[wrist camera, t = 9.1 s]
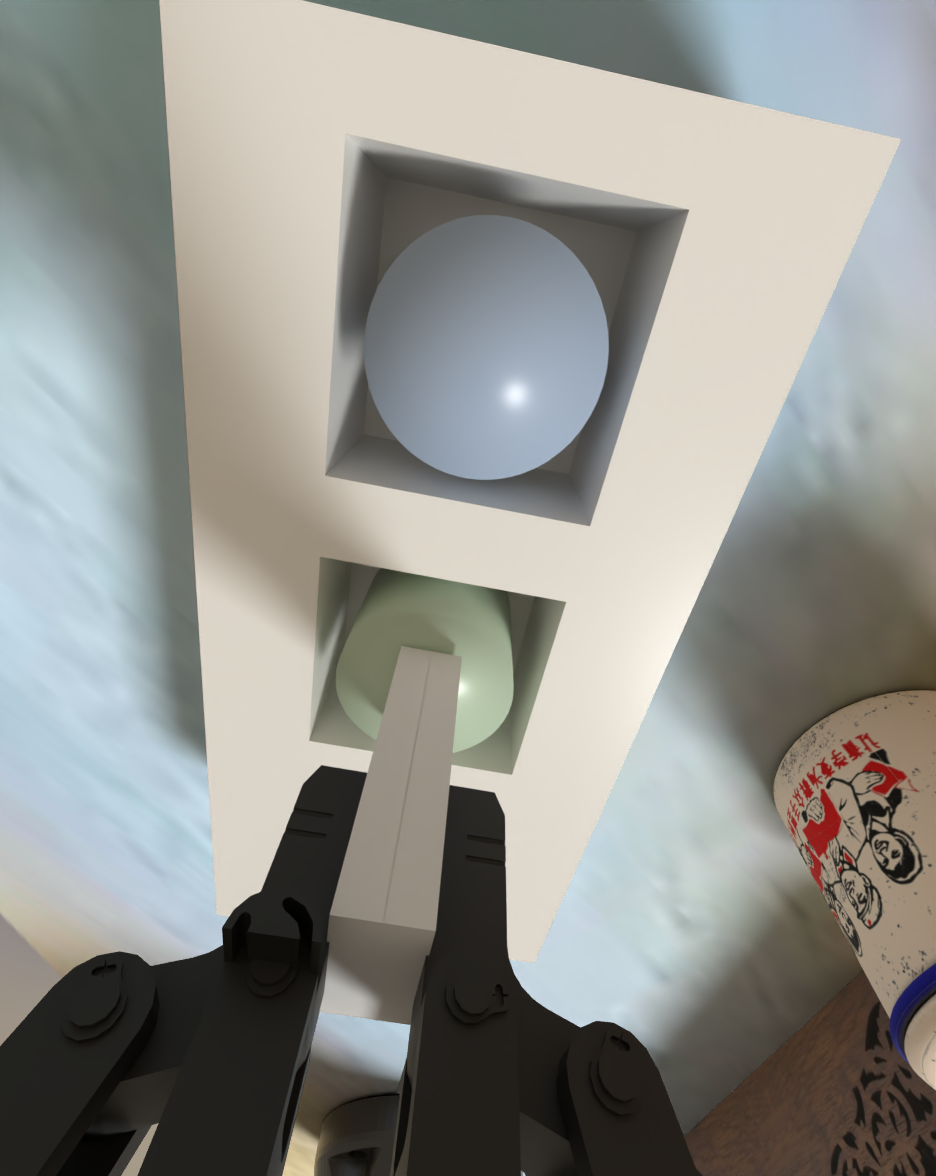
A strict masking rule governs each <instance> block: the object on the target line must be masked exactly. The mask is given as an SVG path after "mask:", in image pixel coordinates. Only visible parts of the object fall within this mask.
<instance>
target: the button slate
mask: <svg viewBox="0 0 936 1176" xmlns="http://www.w3.org/2000/svg"><path fill="white" fill-rule="evenodd" d="M608 354H609V338H608V328H607V321H606V315H605V312H604V308H603V304H602V301H601V298H600V295H599V293H598V291H597V289H596V286H595V284H594V282H593V280H592V278H591V277H590V275H589V273H588V272H587V270H586V268H585V267H584V265H583V264H582V263H581V262H580V260H579V259H578V258H577V257H576V256H575V254H574V253H573V252H572V251H571V250H570V249H569V248H568V247H567V246H565V245H564V244H563V243H562V242H561V241H560V240H559V239H557V238H556V237H554V236H553V235H551V234H550V233H548V232H547V231H546V230H544V229H542V228H540V227H537V226H535V225H533V224H531V223H529V222H526V221H523V220H519V219H516V218H513V217H506V216H499V215H475V216H469V217H464V218H458V219H455V220H453V221H450V222H447V223H444V224H441V225H439V226H437V227H436V228H434V229H432V230H430V231H428V232H426V233H425V234H423V235H422V236H421V237H419V238H418V239H416V240H415V241H414V242H412V243H411V244H410V245H409V246H408V247H407V248H406V249H405V250H404V251H403V252H402V253H401V254H400V255H399V256H398V257H397V258H396V260H395V261H394V262H393V264H392V265H391V266H390V267H389V269H388V270H387V272H386V273H385V275H384V277H383V279H382V280H381V282H380V284H379V285H378V288H377V290H376V293H375V295H374V297H373V300H372V302H371V306H370V309H369V313H368V317H367V321H366V328H365V335H364V361H365V371H366V376H367V380H368V385H369V389H370V392H371V394H372V397H373V400H374V403H375V405H376V407H377V409H378V411H379V413H380V415H381V417H382V419H383V420H384V422H385V424H386V425H387V427H388V428H389V430H390V431H391V432H392V434H393V435H394V436H395V437H396V438H397V440H398V441H399V442H400V443H401V444H402V445H403V446H404V447H405V448H406V449H407V450H408V451H410V452H411V453H412V454H413V455H415V456H416V457H417V458H419V459H420V460H421V461H423V462H425V463H426V464H428V465H430V466H432V467H434V468H435V469H438V470H440V471H443V472H445V473H448V474H450V475H454V476H458V477H462V478H468V479H476V480H494V479H502V478H508V477H512V476H516V475H519V474H522V473H525V472H527V471H530V470H532V469H535V468H537V467H538V466H540V465H542V464H544V463H546V462H547V461H549V460H550V459H552V458H553V457H554V456H556V455H557V454H559V453H560V452H561V451H562V450H563V449H564V448H565V447H566V446H567V445H568V444H570V443H571V442H572V440H573V439H574V438H575V437H576V436H577V434H578V433H579V432H580V431H581V430H582V428H583V427H584V425H585V424H586V422H587V421H588V419H589V417H590V416H591V414H592V412H593V410H594V408H595V406H596V404H597V402H598V399H599V396H600V393H601V391H602V388H603V385H604V380H605V376H606V371H607V364H608Z"/></svg>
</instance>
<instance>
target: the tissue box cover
mask: <svg viewBox="0 0 936 1176" xmlns="http://www.w3.org/2000/svg"><path fill="white" fill-rule="evenodd" d="M889 1022H890V1018H889V1016H888V1014H887V1013H886V1011H885V1009H884V1007H883V1005H882V1003H881V1002H880V1000H879V998H878V996H877V994H876V992H875V990H874V989H873V987H872V985H871V983H870V981H869V979H868V978H867V976H866V974H865V972H864V970H863V971H862V972H861V973H860V974H859V975H858V976H857V977H856V978H855V979H854V980H852V981H851V982H850V983H849V984H848V985H847V986H846V987H845V988H844V989H843V990H842V991H841V992H840V993H838V994H837V995H836V996H835V997H834V998H833V999H832V1000H831V1001H830V1002H829V1003H828V1004H827V1005H826V1006H824V1007H823V1008H822V1009H821V1010H820V1011H819V1012H818V1013H817V1014H816V1015H815V1016H814V1017H813V1018H812V1019H810V1020H809V1021H808V1022H807V1023H806V1024H805V1025H804V1026H803V1027H802V1028H801V1029H800V1030H799V1031H798V1032H796V1033H795V1034H794V1035H793V1036H792V1037H791V1038H790V1039H789V1040H788V1041H787V1042H786V1043H785V1044H784V1045H782V1046H781V1047H780V1048H779V1049H778V1050H777V1051H776V1052H775V1053H774V1054H773V1055H772V1056H771V1057H769V1058H768V1059H767V1060H766V1061H765V1062H764V1063H763V1064H762V1065H761V1066H760V1067H759V1068H758V1069H757V1070H755V1071H754V1072H753V1073H752V1074H751V1075H750V1076H749V1077H748V1078H747V1079H746V1080H745V1081H744V1082H743V1083H741V1084H740V1085H739V1086H738V1087H737V1088H736V1089H735V1090H734V1091H733V1092H732V1093H731V1094H730V1095H729V1096H727V1097H726V1098H725V1099H724V1100H723V1101H722V1102H721V1103H720V1104H719V1105H718V1106H717V1107H716V1108H715V1109H713V1110H712V1111H711V1112H710V1113H709V1114H708V1115H707V1116H706V1117H705V1118H704V1119H703V1120H702V1121H701V1122H699V1123H698V1124H697V1125H696V1126H695V1127H694V1128H693V1129H692V1130H691V1131H690V1132H689V1133H688V1134H687V1135H685V1136H684V1138H685V1141H686V1144H687V1146H688V1149H689V1151H690V1154H691V1157H692V1159H693V1162H694V1164H695V1167H696V1170H697V1172H698V1175H699V1176H936V1090H935V1089H933V1088H932V1087H931V1086H930V1085H929V1084H927V1083H926V1082H925V1081H924V1080H923V1079H922V1078H921V1077H920V1076H918V1075H917V1073H916V1072H915V1071H914V1070H913V1069H912V1067H911V1065H910V1064H909V1063H907V1062H906V1061H905V1060H904V1059H903V1058H902V1056H901V1055H900V1054H899V1053H898V1051H897V1049H896V1048H895V1046H894V1044H893V1042H892V1039H891V1035H890V1029H889Z"/></svg>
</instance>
